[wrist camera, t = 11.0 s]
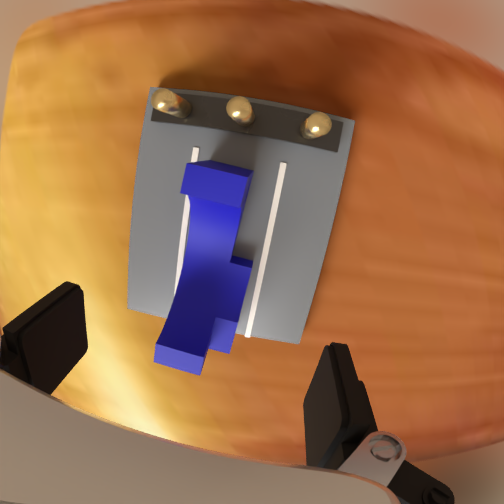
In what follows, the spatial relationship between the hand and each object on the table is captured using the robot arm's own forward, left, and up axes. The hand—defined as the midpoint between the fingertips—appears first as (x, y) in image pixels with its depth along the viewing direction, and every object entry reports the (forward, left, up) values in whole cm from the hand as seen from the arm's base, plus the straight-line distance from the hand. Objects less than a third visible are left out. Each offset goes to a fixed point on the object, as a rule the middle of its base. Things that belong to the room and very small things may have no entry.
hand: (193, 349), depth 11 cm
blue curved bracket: (+1, 0, -12) cm, 12 cm away
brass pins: (+1, -9, -12) cm, 15 cm away
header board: (+1, -2, -13) cm, 13 cm away
